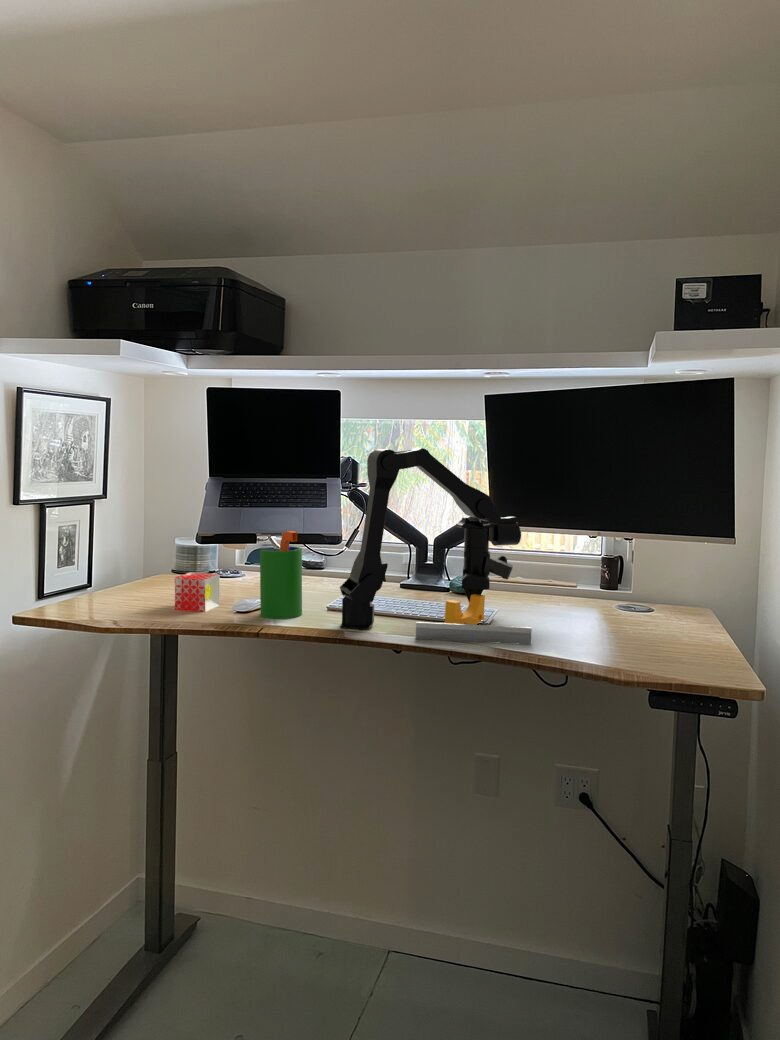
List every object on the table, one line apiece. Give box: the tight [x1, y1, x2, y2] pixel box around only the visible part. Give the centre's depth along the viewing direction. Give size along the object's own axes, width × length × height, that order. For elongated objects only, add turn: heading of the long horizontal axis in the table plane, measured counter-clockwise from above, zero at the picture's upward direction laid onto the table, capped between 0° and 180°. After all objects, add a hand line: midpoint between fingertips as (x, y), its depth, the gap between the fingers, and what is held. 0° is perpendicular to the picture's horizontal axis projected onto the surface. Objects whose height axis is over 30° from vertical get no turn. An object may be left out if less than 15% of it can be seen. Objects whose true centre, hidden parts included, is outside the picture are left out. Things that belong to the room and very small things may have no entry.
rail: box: [415, 621, 533, 645], centre depth 167 cm, size 24×2×4 cm, turn 83°
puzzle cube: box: [174, 571, 221, 613], centre depth 193 cm, size 8×8×8 cm
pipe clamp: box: [444, 594, 486, 625], centre depth 179 cm, size 12×4×6 cm, turn 141°
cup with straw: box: [259, 530, 303, 620], centre depth 187 cm, size 10×9×20 cm
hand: (474, 611), depth 188 cm, fingers closed
